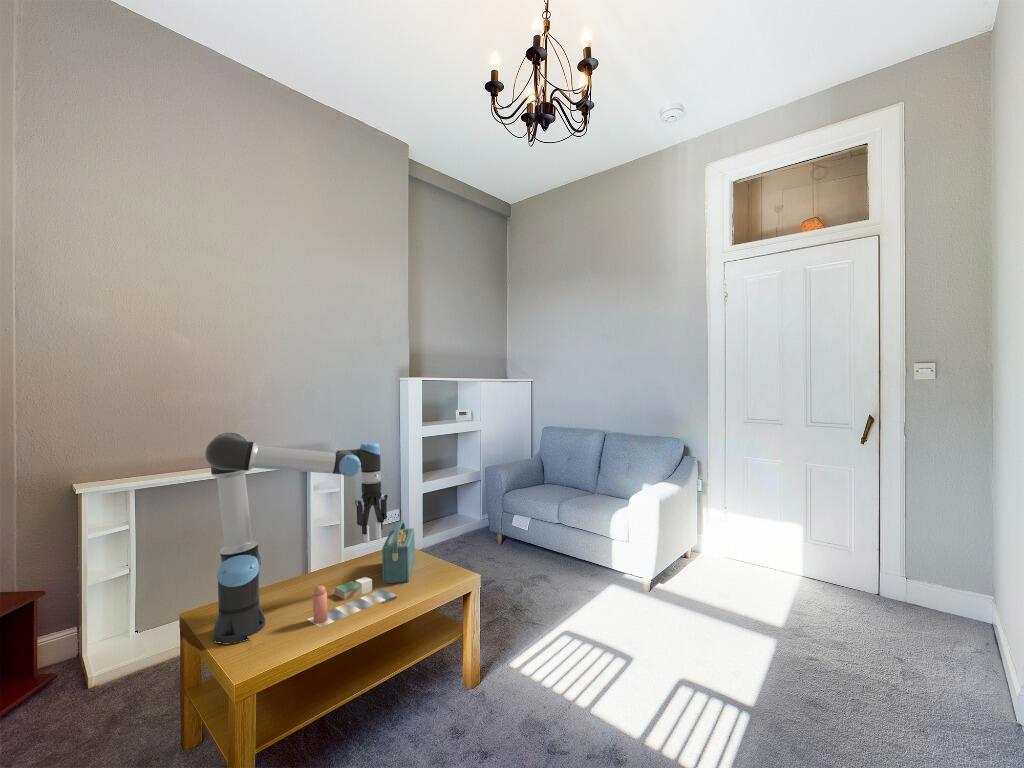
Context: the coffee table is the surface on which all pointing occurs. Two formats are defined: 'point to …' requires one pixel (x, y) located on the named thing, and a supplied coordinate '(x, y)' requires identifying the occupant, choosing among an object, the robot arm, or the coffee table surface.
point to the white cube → (365, 584)
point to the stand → (348, 590)
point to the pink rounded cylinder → (320, 605)
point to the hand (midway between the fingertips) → (372, 540)
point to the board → (356, 606)
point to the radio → (398, 555)
